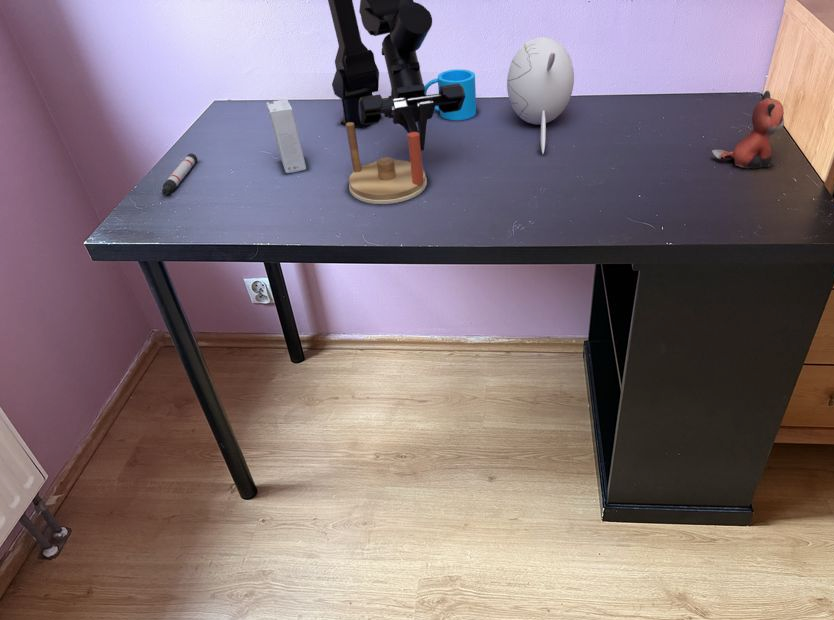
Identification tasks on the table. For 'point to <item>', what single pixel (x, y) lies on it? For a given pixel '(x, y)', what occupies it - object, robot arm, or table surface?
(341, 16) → the robot arm
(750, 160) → the stuffed fox
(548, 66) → the cracked white egg
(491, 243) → the table surface
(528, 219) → the table surface
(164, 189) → the marker
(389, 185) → the wooden peg board
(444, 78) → the mug
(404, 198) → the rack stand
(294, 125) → the cosmetic box
